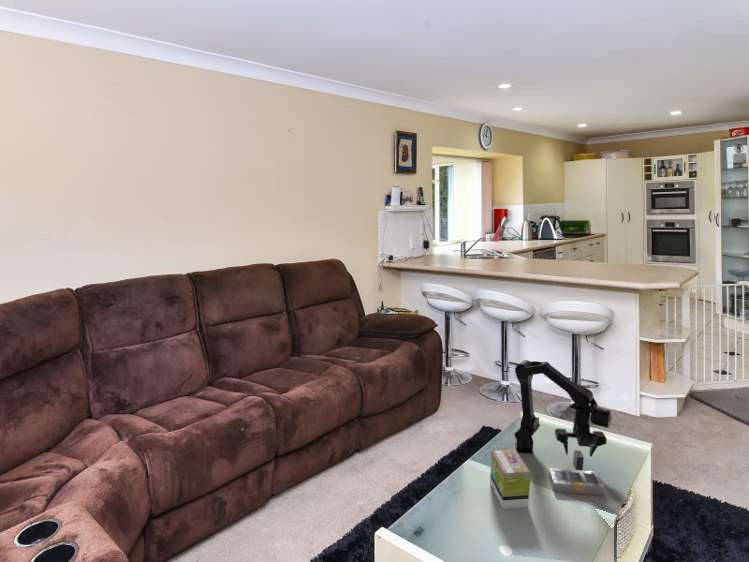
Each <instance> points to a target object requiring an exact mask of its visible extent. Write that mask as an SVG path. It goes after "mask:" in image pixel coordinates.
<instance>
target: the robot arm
mask: <svg viewBox="0 0 749 562" xmlns="http://www.w3.org/2000/svg"><path fill="white" fill-rule="evenodd" d="M514 371H515V375H516V378H517V380H518V383H519V386H520V399H521V410H522V411H521V412H522V417H521V421H520V425H519V426H520V427H519V428H518V429H517V430H516V431H515V432H514V434H513V435H514V438H515V443H514V447H515V449H516V451H517V452H518V453H527V454H532V453H533V449H534V438H533V436H534V435H535V433H536V432H537V431H538V430H539V428H540V427H541V425H540V417H539V416H536V415H535V411H534V410H535V409H534V401H533V400H534V399H533V389H532V388H533V386H532V381H533V376H534V375H539V374H541V375H542V374H543V376H545V377H547V378H548V379H549V380H550V381H552V382H553V383H554V384H556V385H557V387H559V388H561V389H562V390H563V391H565V392H566V393H567V394H568V395H569V398H570V399H571V401H573V402H572V403H571V404H570V406H569V408H570V409H573V410H574V417H573V427H572V432H567V430H566V429H565V428H556V429H555V430H554V436H555V439H556V440H557V441H558V442H560V443H561V444H563V449H564V452H565V455H566V456H568V454H569V448H568V447H569V445H568V444H569V442H568V440H569V439H576V440H577V445H578V446H580V447H588V448H589V457H590V458H591V457H592V456H593V455H594V453H595V451H596V450H597V448H598V447H602V446H603V445H604V446H605V445H607V437H606V435H605V433H604V432H603V431H600V430H599V431H597V430H593V431H592V432H591V430H590V429H591V427H590V421H591V423H592V425H595V426H599V427H603V428H607V429H610V426H611V423H612V418H613V417H612V413H611V409H604V408H600V407H598V406H599V405H598V403H597V401H596V399H595V398H594V394H593V391H591V390H590V389H589V388H588V387H586V386H584V385H581V384H579V383H575V382H573V380H571V379H570V378H568V377H567V376H566V375H564V374H563V373H562V372H560V371H559V370H558V369H556V368H555V367H554V366H552V365H551V363H549V362H548V361H537V360H536V361H535V360H534V361H530V360H525V359H524V360H523V361H521V362H520V363H518V365H516V366H515V369H514Z"/></svg>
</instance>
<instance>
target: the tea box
mask: <svg viewBox="0 0 749 562" xmlns="http://www.w3.org/2000/svg"><path fill="white" fill-rule="evenodd" d="M489 477H490V478H489V479H490V480H489V481H490V482H489V483H490V486H491V488H492V490H493V492H494V494H495V497H496V498H497V500H498V502H499V504H500V506H501V509H503V510H505V509H506V510H507V509H520V508H521V509H522V508H528V507H529V502H530V485H531V484H530V483H531V471H530V469H529V468H528V466H527V465H526V463H525V462H524V460H523V458H522V457H521V455H520V454H519V452H517V451H516V448H515V449H504V450H491V453H490V476H489Z"/></svg>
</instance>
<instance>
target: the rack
mask: <svg viewBox="0 0 749 562" xmlns="http://www.w3.org/2000/svg"><path fill="white" fill-rule="evenodd" d="M547 477H548V479H549V482H550V486H551V489H552V492H557V493H566V494H567V493H568V494H581V495H589V496H590V495H592V496H593V495H594V496H604V495H605V486H604V483H603V481H602V479H601V477H600V475H599V473H598V471H594V470H583V471H582V470H576V469H568V468H555V467H549V468H548V476H547Z"/></svg>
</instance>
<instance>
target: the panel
mask: <svg viewBox="0 0 749 562" xmlns="http://www.w3.org/2000/svg"><path fill="white" fill-rule="evenodd" d="M573 450H574V451H573V460H572V461H573V462H572V464H573V467H574V470H582V471H584V470H583V469H584V461H585V458H584V455H583V453H582V451H581V450H575V449H573Z"/></svg>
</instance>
